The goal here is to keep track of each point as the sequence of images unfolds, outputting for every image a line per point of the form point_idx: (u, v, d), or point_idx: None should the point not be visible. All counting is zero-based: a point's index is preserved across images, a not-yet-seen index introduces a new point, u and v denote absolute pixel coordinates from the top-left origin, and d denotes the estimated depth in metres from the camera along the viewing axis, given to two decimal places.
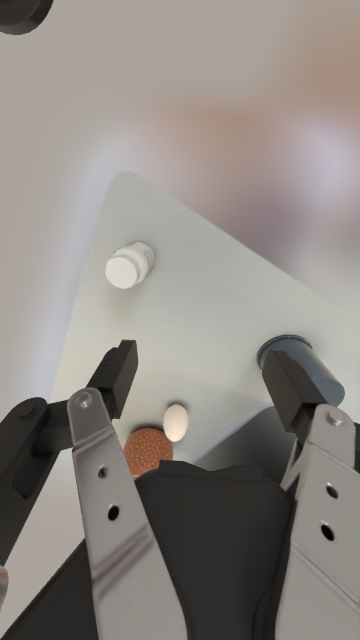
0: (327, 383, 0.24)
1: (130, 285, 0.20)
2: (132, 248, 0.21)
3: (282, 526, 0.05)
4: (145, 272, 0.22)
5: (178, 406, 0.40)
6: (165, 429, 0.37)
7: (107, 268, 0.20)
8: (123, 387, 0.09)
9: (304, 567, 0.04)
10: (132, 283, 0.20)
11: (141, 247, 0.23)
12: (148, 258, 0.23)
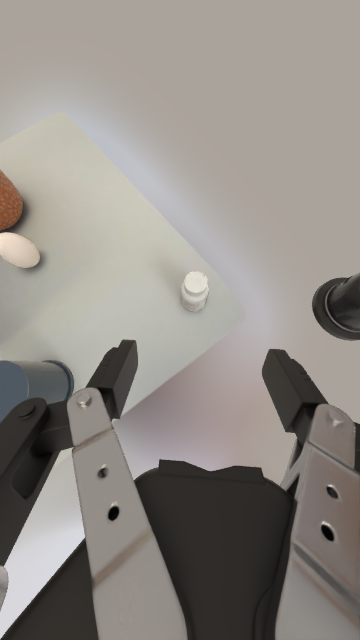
0: None
1: (185, 283, 0.27)
2: (205, 298, 0.29)
3: (282, 526, 0.05)
4: (187, 298, 0.29)
5: (35, 263, 0.36)
6: (17, 236, 0.32)
7: (202, 275, 0.27)
8: (123, 387, 0.09)
9: (304, 567, 0.04)
10: (186, 285, 0.27)
11: (201, 304, 0.31)
12: (193, 305, 0.31)
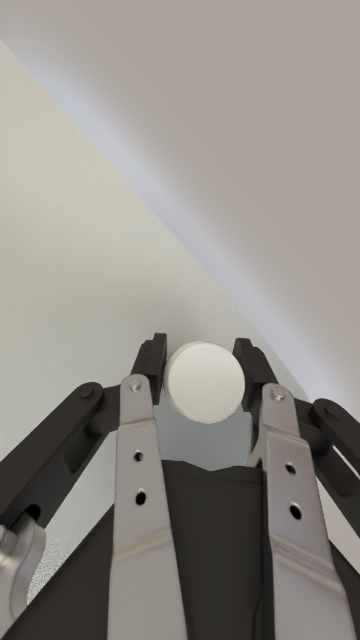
0: None
1: (171, 386, 0.08)
2: None
3: (258, 522, 0.05)
4: (177, 409, 0.10)
5: None
6: None
7: (228, 358, 0.08)
8: (160, 376, 0.10)
9: (304, 567, 0.04)
10: (174, 394, 0.08)
11: None
12: None
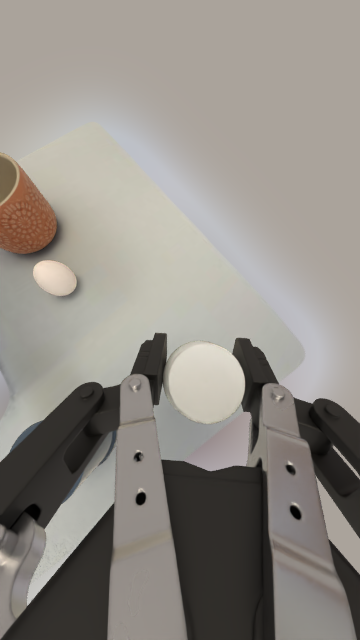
0: None
1: (172, 386, 0.08)
2: None
3: (258, 522, 0.05)
4: (177, 409, 0.10)
5: (72, 290, 0.33)
6: (57, 264, 0.29)
7: (229, 358, 0.08)
8: (160, 376, 0.10)
9: (304, 567, 0.04)
10: (174, 394, 0.08)
11: None
12: None
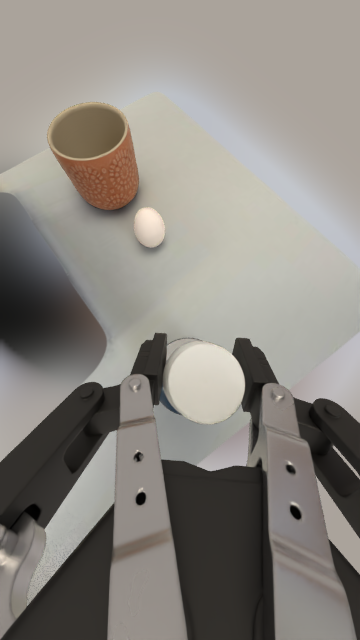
0: None
1: (171, 387, 0.08)
2: None
3: (258, 522, 0.05)
4: (177, 409, 0.10)
5: (160, 243, 0.34)
6: (156, 212, 0.30)
7: (228, 358, 0.08)
8: (161, 376, 0.10)
9: (304, 567, 0.04)
10: (174, 395, 0.08)
11: None
12: None
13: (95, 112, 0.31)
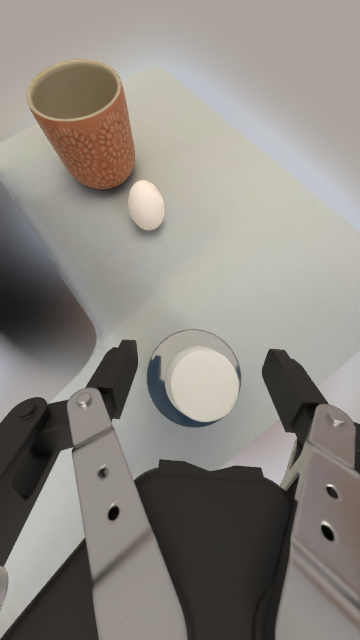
0: None
1: (173, 388, 0.09)
2: None
3: (282, 526, 0.05)
4: (178, 409, 0.11)
5: None
6: (154, 186, 0.26)
7: (224, 362, 0.09)
8: (123, 387, 0.09)
9: (304, 567, 0.04)
10: (175, 396, 0.09)
11: None
12: None
13: (84, 72, 0.26)
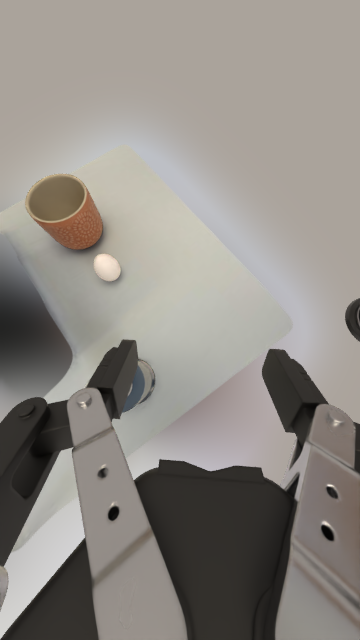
0: (133, 400, 0.29)
1: None
2: None
3: (282, 526, 0.05)
4: None
5: (117, 277, 0.43)
6: (110, 256, 0.40)
7: None
8: (123, 387, 0.09)
9: (304, 567, 0.04)
10: None
11: None
12: None
13: (64, 180, 0.40)
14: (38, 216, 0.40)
